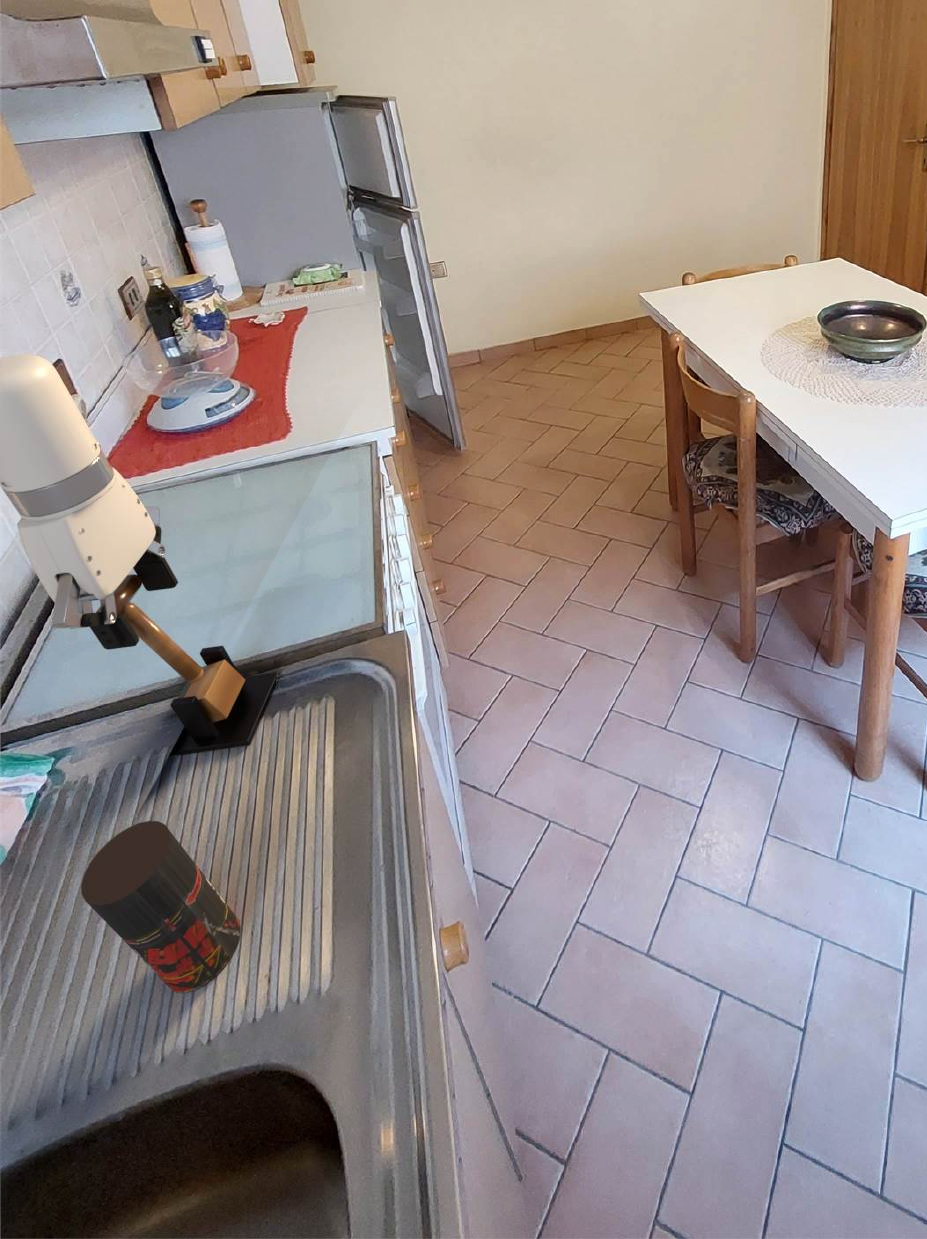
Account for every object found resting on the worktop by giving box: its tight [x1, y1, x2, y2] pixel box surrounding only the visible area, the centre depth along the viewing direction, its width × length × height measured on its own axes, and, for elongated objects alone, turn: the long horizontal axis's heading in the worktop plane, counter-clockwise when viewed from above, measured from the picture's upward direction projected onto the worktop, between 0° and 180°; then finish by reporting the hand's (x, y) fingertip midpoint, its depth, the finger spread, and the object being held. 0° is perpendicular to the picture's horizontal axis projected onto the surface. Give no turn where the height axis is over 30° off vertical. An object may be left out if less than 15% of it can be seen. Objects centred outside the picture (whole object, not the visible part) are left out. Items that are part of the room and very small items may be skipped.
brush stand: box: [168, 645, 280, 758], centre depth 81 cm, size 10×9×7 cm
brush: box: [95, 573, 245, 723], centre depth 77 cm, size 19×7×4 cm
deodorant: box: [80, 820, 242, 994], centre depth 58 cm, size 6×6×15 cm
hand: (143, 614), depth 74 cm, fingers closed on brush, 7 cm apart
